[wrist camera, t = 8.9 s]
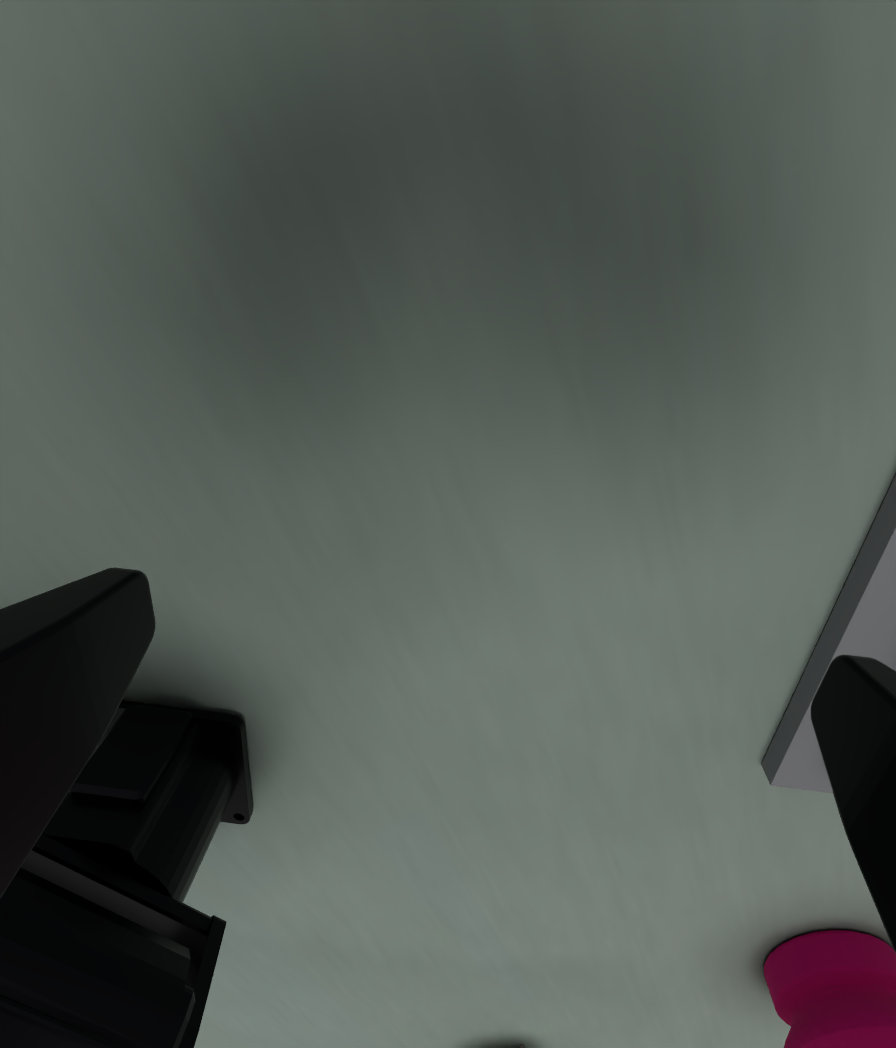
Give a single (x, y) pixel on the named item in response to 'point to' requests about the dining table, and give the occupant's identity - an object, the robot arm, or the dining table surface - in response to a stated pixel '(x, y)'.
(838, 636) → the display stand
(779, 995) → the pepper mill
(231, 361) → the dining table surface
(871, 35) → the dining table surface
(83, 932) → the robot arm
